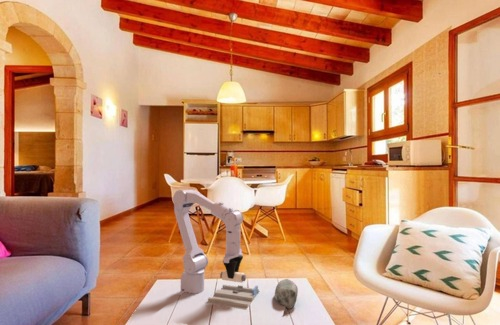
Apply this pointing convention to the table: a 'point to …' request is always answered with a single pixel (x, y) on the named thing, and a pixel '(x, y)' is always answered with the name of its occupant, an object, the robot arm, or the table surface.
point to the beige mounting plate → (234, 296)
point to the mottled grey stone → (286, 293)
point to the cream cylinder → (237, 276)
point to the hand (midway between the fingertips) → (232, 276)
